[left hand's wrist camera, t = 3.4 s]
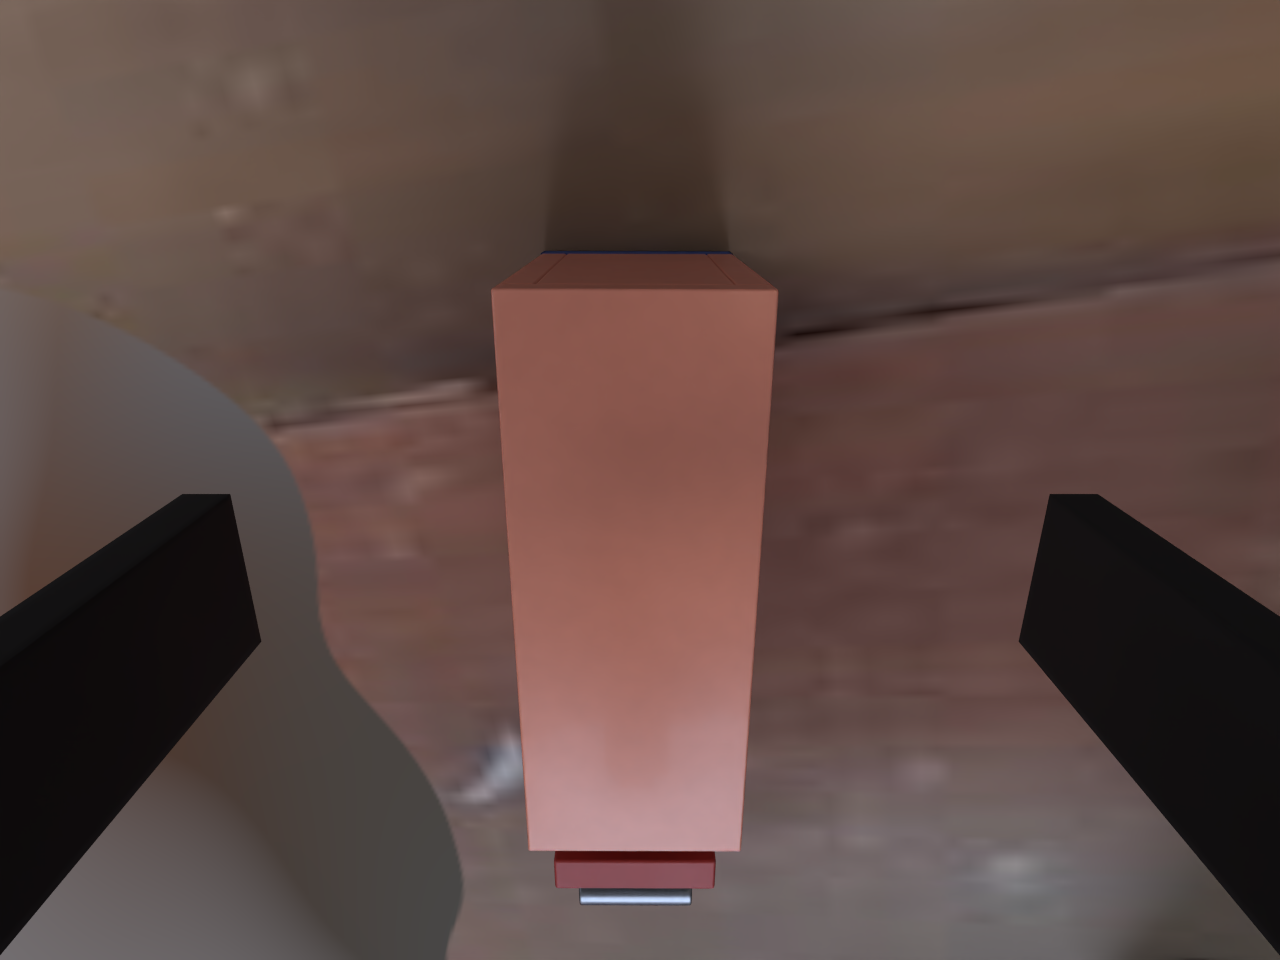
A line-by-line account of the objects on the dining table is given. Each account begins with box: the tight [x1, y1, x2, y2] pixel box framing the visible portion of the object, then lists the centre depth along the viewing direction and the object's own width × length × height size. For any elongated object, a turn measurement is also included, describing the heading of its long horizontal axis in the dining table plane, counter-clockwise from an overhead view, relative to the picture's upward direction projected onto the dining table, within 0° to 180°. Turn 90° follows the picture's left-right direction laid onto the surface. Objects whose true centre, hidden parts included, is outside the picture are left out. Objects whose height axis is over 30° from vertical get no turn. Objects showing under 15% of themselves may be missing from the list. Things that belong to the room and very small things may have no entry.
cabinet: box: [491, 251, 778, 851], centre depth 24 cm, size 16×6×10 cm, turn 0°
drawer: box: [554, 851, 716, 905], centre depth 26 cm, size 20×5×8 cm, turn 0°
